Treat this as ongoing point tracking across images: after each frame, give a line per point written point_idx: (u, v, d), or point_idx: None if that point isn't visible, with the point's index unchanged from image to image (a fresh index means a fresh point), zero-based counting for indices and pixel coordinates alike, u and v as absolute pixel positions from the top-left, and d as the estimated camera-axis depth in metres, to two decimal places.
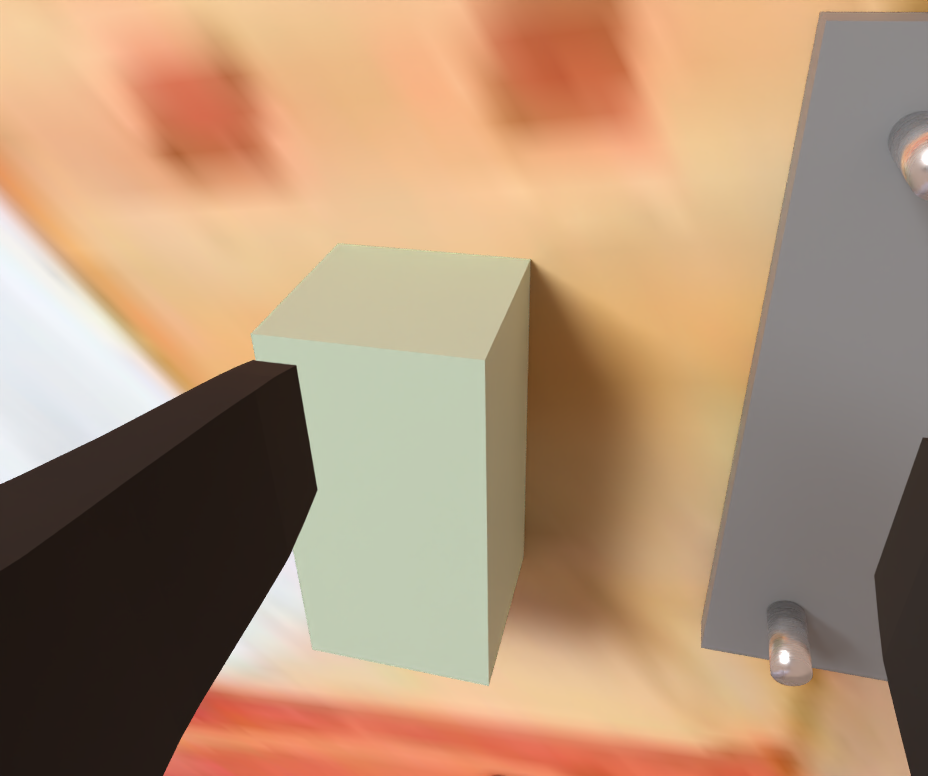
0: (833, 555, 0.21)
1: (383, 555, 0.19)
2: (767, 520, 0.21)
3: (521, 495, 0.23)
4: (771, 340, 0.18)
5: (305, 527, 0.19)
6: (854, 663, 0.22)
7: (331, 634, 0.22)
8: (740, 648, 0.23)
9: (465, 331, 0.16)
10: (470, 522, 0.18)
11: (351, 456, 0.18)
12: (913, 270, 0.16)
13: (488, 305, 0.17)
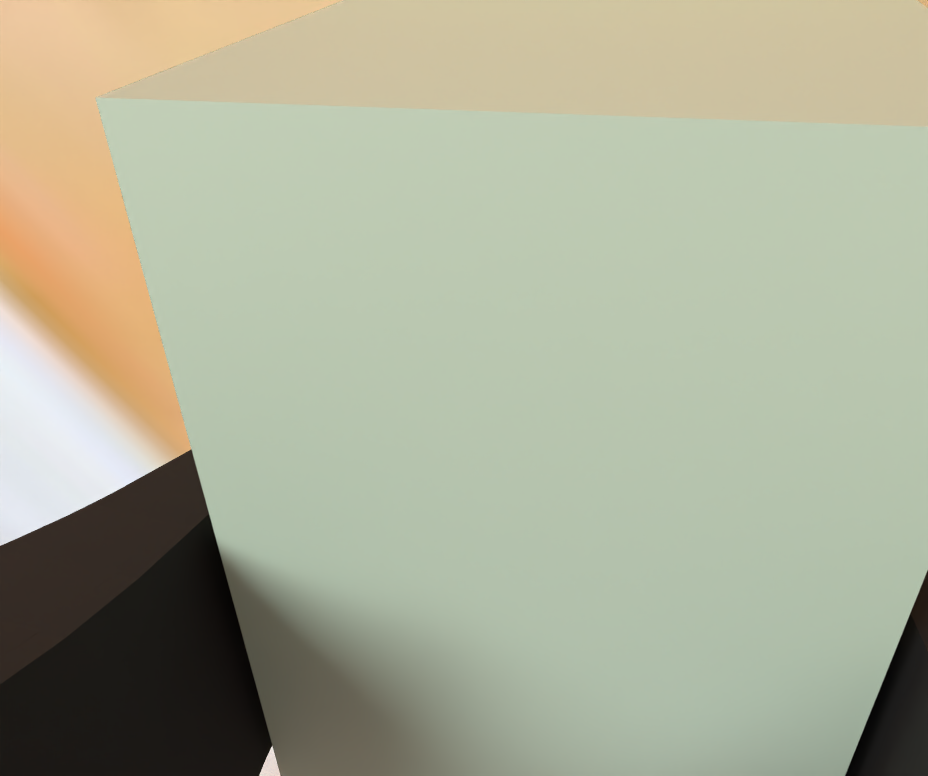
0: None
1: None
2: None
3: None
4: None
5: (301, 699, 0.07)
6: None
7: None
8: None
9: (894, 76, 0.04)
10: (805, 725, 0.06)
11: (442, 526, 0.06)
12: None
13: (890, 35, 0.05)
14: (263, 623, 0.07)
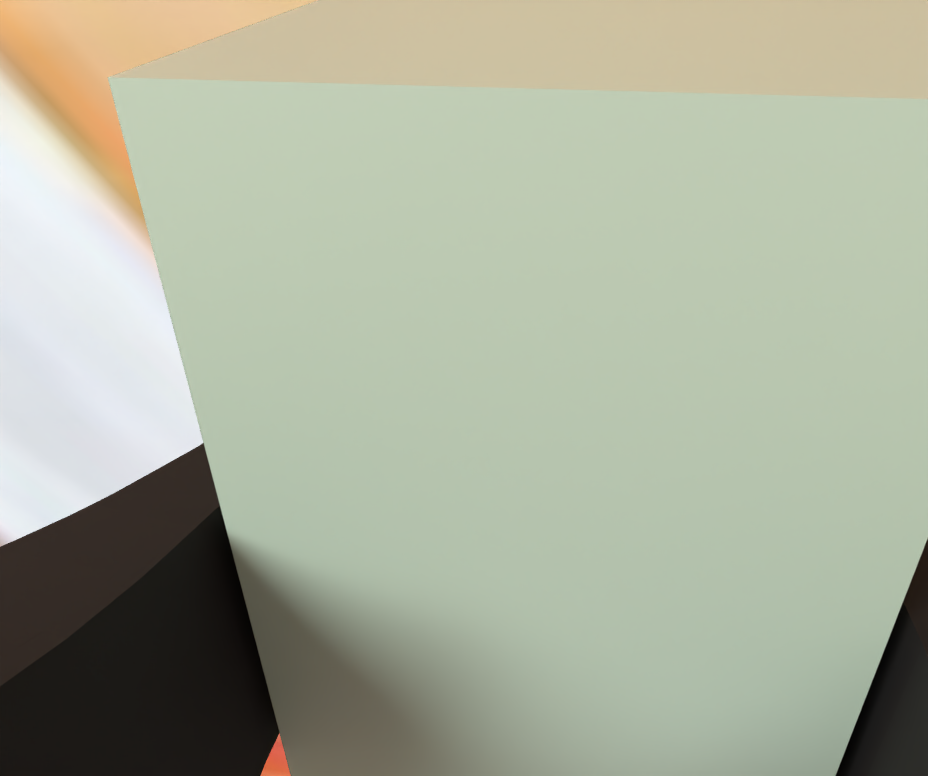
0: None
1: (515, 756, 0.07)
2: None
3: None
4: None
5: (308, 681, 0.07)
6: None
7: None
8: None
9: (892, 54, 0.04)
10: (806, 699, 0.06)
11: (448, 505, 0.06)
12: None
13: (889, 18, 0.05)
14: (270, 604, 0.07)
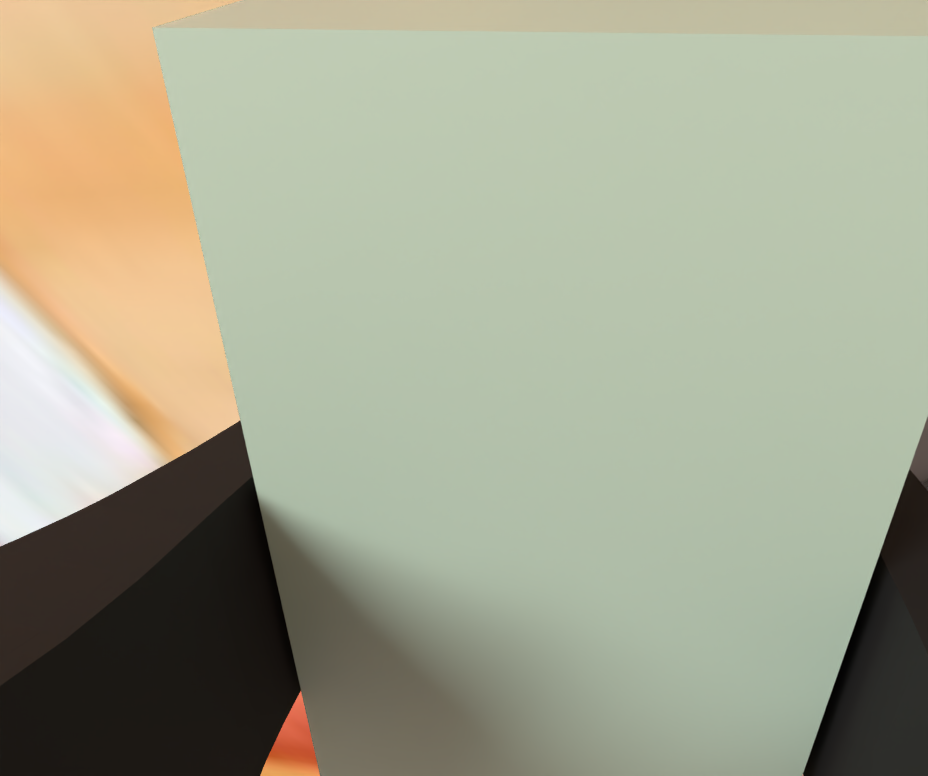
0: None
1: (524, 692, 0.08)
2: None
3: None
4: None
5: (326, 621, 0.08)
6: None
7: None
8: None
9: (879, 5, 0.05)
10: (800, 624, 0.06)
11: (464, 439, 0.06)
12: None
13: None
14: (291, 544, 0.07)
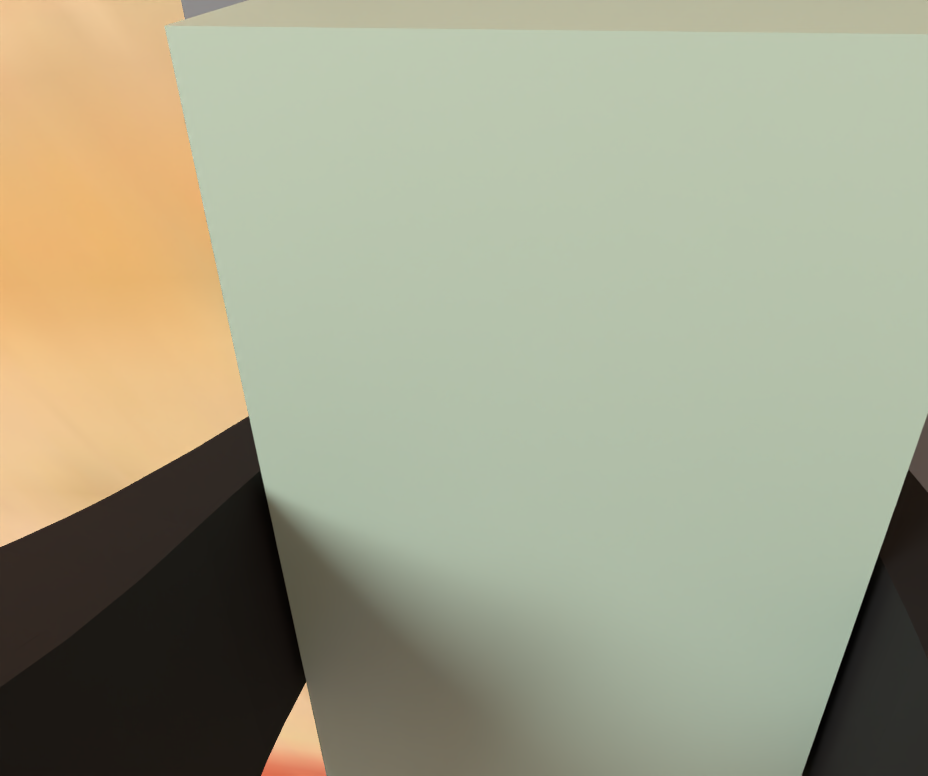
0: None
1: (528, 685, 0.08)
2: None
3: None
4: None
5: (332, 613, 0.08)
6: None
7: None
8: None
9: (880, 4, 0.05)
10: (803, 617, 0.06)
11: (469, 434, 0.06)
12: None
13: None
14: (298, 538, 0.07)
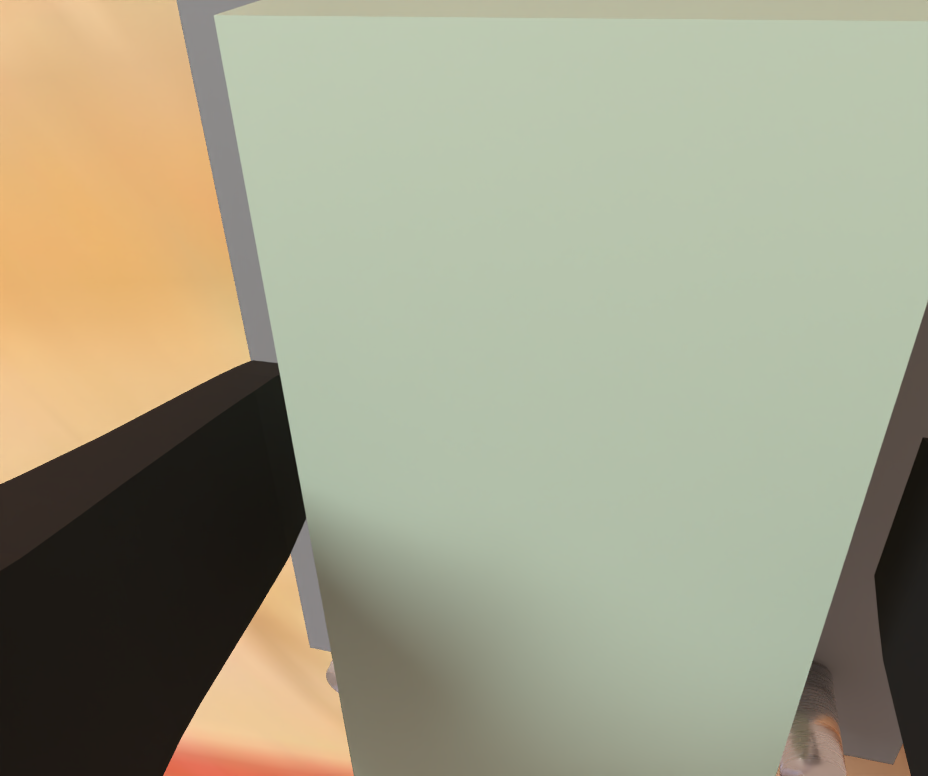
0: None
1: (539, 636, 0.08)
2: None
3: None
4: (228, 197, 0.12)
5: (355, 569, 0.08)
6: None
7: None
8: None
9: None
10: (794, 564, 0.07)
11: (487, 392, 0.07)
12: None
13: None
14: (324, 496, 0.08)
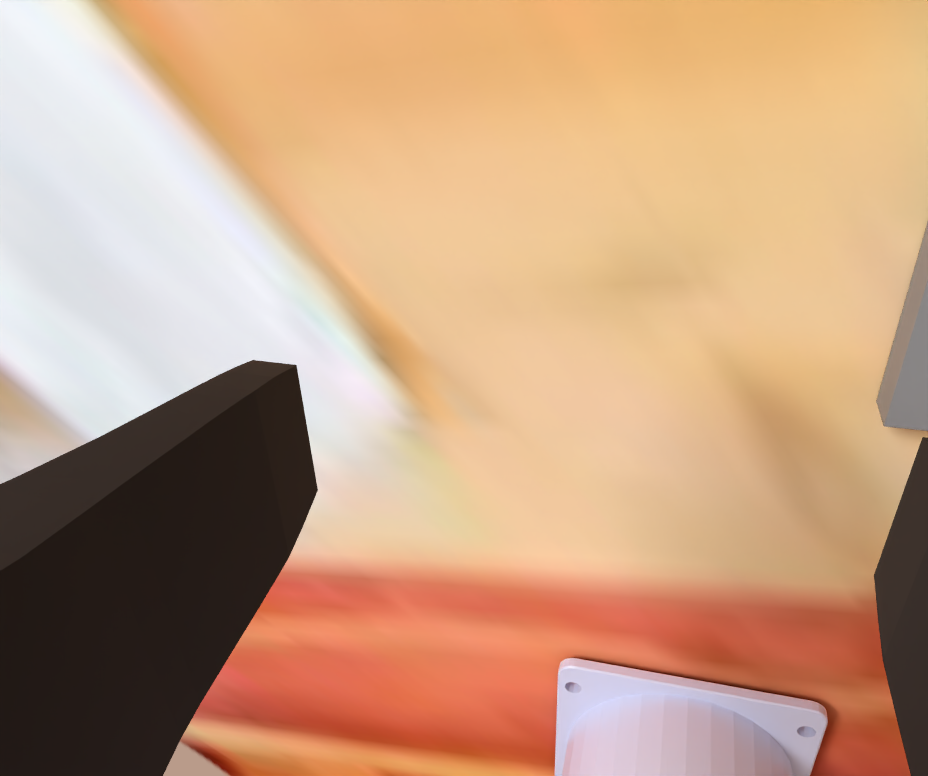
0: None
1: None
2: None
3: None
4: None
5: None
6: None
7: None
8: None
9: None
10: None
11: None
12: None
13: None
14: None
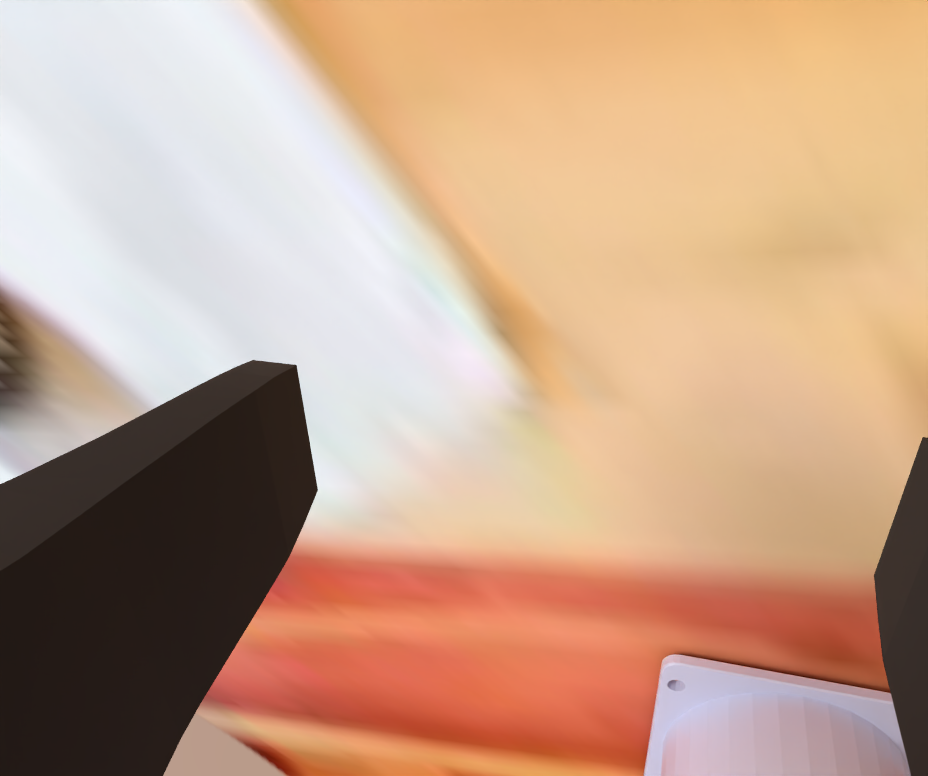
0: None
1: None
2: None
3: None
4: None
5: None
6: None
7: None
8: None
9: None
10: None
11: None
12: None
13: None
14: None
